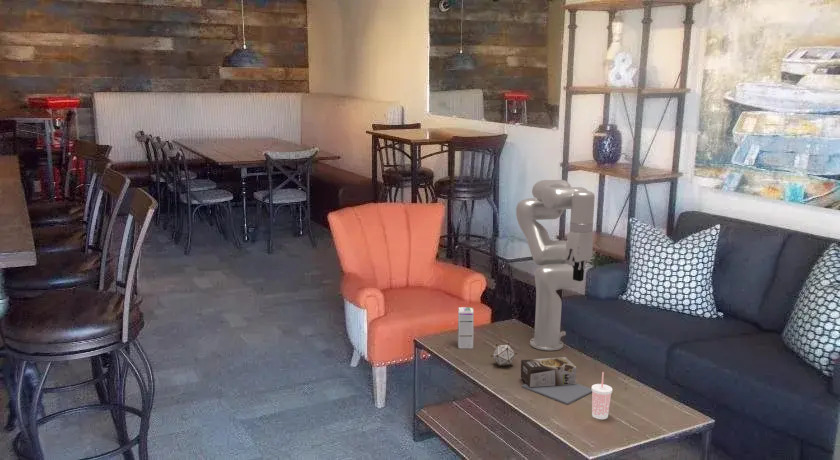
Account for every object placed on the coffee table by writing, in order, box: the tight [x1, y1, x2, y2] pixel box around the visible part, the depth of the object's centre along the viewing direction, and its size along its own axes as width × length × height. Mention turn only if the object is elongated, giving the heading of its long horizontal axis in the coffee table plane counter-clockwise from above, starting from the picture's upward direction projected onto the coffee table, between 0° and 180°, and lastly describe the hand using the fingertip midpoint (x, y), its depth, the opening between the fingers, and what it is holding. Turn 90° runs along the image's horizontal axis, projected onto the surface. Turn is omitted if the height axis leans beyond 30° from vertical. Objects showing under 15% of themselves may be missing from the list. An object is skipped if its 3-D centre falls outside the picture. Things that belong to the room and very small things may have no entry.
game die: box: [490, 342, 518, 368], centre depth 256 cm, size 9×8×10 cm
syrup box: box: [457, 306, 475, 350], centre depth 273 cm, size 6×6×14 cm
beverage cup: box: [591, 371, 613, 420], centre depth 217 cm, size 6×6×14 cm
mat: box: [521, 382, 592, 406], centre depth 237 cm, size 15×18×1 cm
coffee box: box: [520, 356, 577, 387], centre depth 242 cm, size 9×6×16 cm
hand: (578, 280), depth 248 cm, fingers closed
